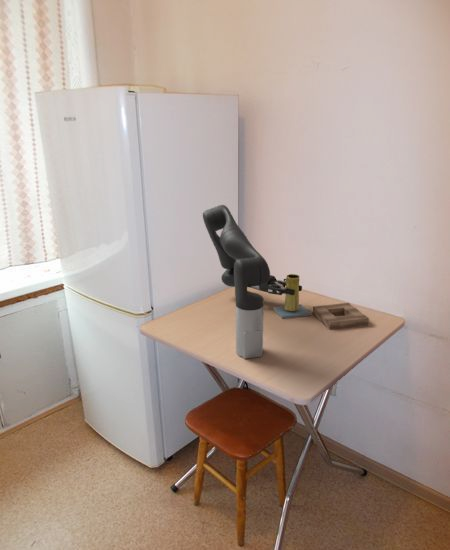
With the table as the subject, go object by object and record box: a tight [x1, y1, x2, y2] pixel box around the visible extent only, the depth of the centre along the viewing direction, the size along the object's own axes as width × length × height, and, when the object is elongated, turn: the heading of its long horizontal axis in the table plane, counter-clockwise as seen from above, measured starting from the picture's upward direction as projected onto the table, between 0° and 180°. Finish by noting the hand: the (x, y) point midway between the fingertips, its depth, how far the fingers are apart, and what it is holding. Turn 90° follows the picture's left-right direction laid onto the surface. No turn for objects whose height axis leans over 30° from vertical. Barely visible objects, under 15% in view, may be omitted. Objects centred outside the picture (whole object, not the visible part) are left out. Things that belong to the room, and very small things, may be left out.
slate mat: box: [273, 303, 311, 319], centre depth 176 cm, size 10×12×1 cm
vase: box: [283, 273, 300, 311], centre depth 174 cm, size 6×6×14 cm
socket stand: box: [312, 302, 370, 331], centre depth 169 cm, size 16×16×3 cm
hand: (297, 290), depth 172 cm, fingers closed on vase, 5 cm apart
